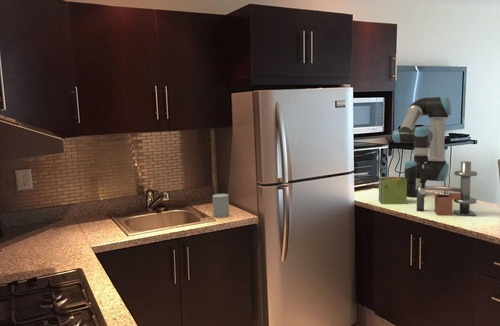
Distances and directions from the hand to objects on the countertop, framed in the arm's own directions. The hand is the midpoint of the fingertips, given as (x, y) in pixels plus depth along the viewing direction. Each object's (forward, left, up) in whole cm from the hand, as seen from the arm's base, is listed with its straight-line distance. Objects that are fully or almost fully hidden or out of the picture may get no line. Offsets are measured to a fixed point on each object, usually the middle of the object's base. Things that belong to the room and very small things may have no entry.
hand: (420, 191), depth 243 cm
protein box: (-21, -13, -12) cm, 27 cm away
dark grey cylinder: (0, 0, -11) cm, 11 cm away
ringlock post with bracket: (+6, +17, -11) cm, 22 cm away
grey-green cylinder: (+18, -114, -11) cm, 116 cm away
